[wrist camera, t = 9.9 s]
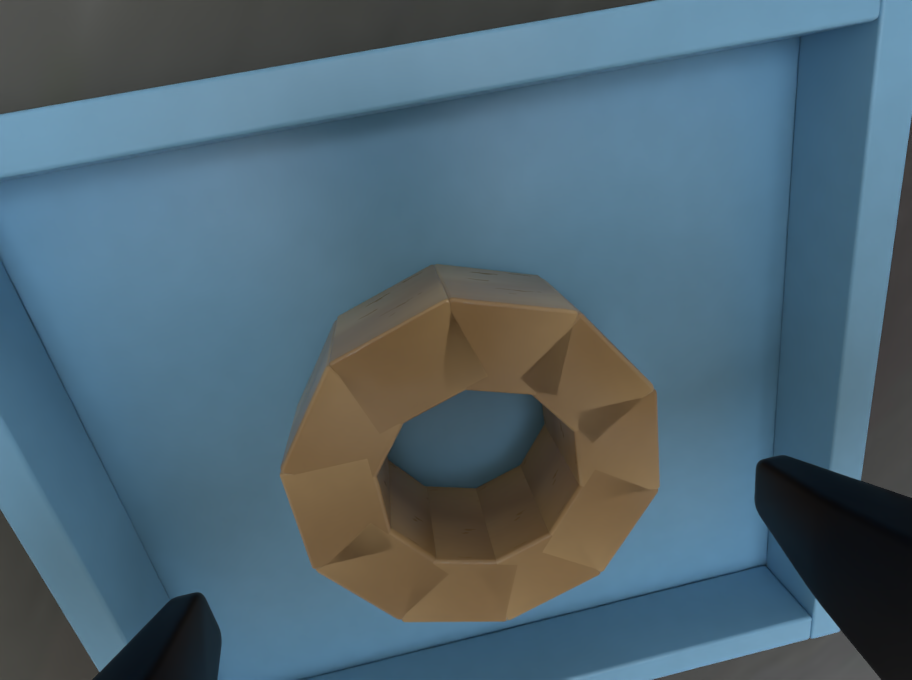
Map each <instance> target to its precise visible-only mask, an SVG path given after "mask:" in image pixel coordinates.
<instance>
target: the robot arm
mask: <svg viewBox="0 0 912 680" xmlns="http://www.w3.org/2000/svg"><path fill="white" fill-rule="evenodd" d="M754 502H755V507H756V510H757V512H758V514H759V516H760V517H761V519H762V520H763V522H764V523H765V525H766V526H767V528H768V529H769V531H770V532H771V534H772V535H773V537H774V538H775V540H776V541H777V543H778V544H779V546H780V547H781V548H782V550H783V551H784V553H785V554H786V556H787V557H788V559H789V560H790V562H791V563H792V565H793V566H794V568H795V569H796V571H797V572H798V574H799V575H800V577H801V578H802V580H803V581H804V583H805V584H806V586H807V587H808V588H809V590H810V591H811V593H812V594H813V595H814V597H815V598H816V600H817V601H818V602H819V603H820V605H821V606H822V607H823V609H824V610H825V611H826V612H827V614H828V615H829V616H830V617H831V619H832V620H833V621H834V622H835V623H836V625H837V626H838V627H839V628H840V630H841V631H842V632H843V633H844V634H845V636H846V637H847V638H848V639H849V641H850V642H851V643H852V644H853V645H854V647H855V648H856V649H857V650H858V652H859V653H860V654H861V655H862V656H863V658H864V659H865V660H866V661H867V663H868V664H869V665H870V666H871V667H872V669H873V670H874V671H875V672H876V674H877V675H878V676H879V677H880V678H881V680H912V498H910V497H907V496H904V495H901V494H898V493H895V492H892V491H889V490H886V489H883V488H880V487H878V486H875V485H872V484H869V483H866V482H863V481H860V480H857V479H854V478H851V477H848V476H845V475H842V474H839V473H836V472H833V471H831V470H828V469H825V468H822V467H819V466H816V465H813V464H810V463H807V462H804V461H801V460H798V459H795V458H792V457H789V456H786V455H778V456H774V457H769V458H765V459H762V460H760V461H759V462H758V463H757V465H756V474H755V494H754ZM221 646H222V637H221V631H220V628H219V626H218V623H217V621H216V619H215V617H214V615H213V613H212V611H211V608H210V606H209V604H208V602H207V600H206V598H205V596H204V595H203V594H202V593H200V592H194V593H190V594H186V595H181V596H177V597H175V598H172V599H171V600H170V601H169V602H167V603H166V604H165V606H164V607H163V608H162V609H161V610H160V611H159V612H158V613H157V614H156V615H155V616H154V617H153V618H152V619H151V620H150V621H149V622H148V623H147V624H146V625H145V626H144V627H143V628H142V629H141V630H140V631H139V632H138V633H137V634H136V635H135V636H134V637H133V638H132V640H131V641H130V642H129V643H128V644H127V645H126V646H125V647H124V648H123V649H122V650H121V651H120V652H119V653H118V654H117V655H116V656H115V657H114V658H113V659H112V660H111V661H110V662H109V663H108V664H107V665H106V666H105V667H104V668H103V669H102V670H101V671H100V672H99V674H98V675H97V676H96V677H95V678H94V679H93V680H217V679H218V671H219V663H220V655H221Z"/></svg>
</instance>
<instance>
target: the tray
mask: <svg viewBox="0 0 912 680" xmlns="http://www.w3.org/2000/svg"><path fill="white" fill-rule="evenodd" d="M911 117H912V0H656V1H650V2H644V3H638V4H633V5H627V6H621V7H615V8H610V9H604V10H598V11H592V12H587V13H581V14H575V15H569V16H564V17H558V18H552V19H546V20H540V21H535V22H529V23H523V24H517V25H512V26H506V27H500V28H494V29H489V30H483V31H477V32H471V33H466V34H460V35H454V36H448V37H443V38H437V39H431V40H425V41H420V42H414V43H408V44H402V45H396V46H391V47H385V48H379V49H373V50H368V51H362V52H356V53H350V54H345V55H339V56H333V57H327V58H322V59H316V60H310V61H304V62H299V63H293V64H287V65H281V66H276V67H270V68H264V69H258V70H252V71H247V72H241V73H235V74H229V75H224V76H218V77H212V78H206V79H201V80H195V81H189V82H183V83H178V84H172V85H166V86H160V87H155V88H149V89H143V90H137V91H132V92H126V93H120V94H114V95H108V96H103V97H97V98H91V99H85V100H80V101H74V102H68V103H62V104H57V105H51V106H45V107H39V108H34V109H28V110H22V111H16V112H11V113H5V114H0V509H1V511H2V513H3V514H4V516H5V518H6V519H7V521H8V522H9V524H10V526H11V527H12V529H13V531H14V532H15V534H16V536H17V537H18V539H19V541H20V542H21V544H22V546H23V547H24V549H25V550H26V552H27V554H28V555H29V557H30V559H31V560H32V562H33V564H34V565H35V567H36V569H37V570H38V572H39V574H40V575H41V577H42V578H43V580H44V582H45V583H46V585H47V587H48V588H49V590H50V592H51V593H52V595H53V597H54V598H55V600H56V602H57V603H58V605H59V606H60V608H61V610H62V611H63V613H64V615H65V616H66V618H67V620H68V621H69V623H70V625H71V626H72V628H73V630H74V631H75V633H76V634H77V636H78V638H79V639H80V641H81V643H82V644H83V646H84V648H85V649H86V651H87V653H88V654H89V656H90V658H91V659H92V661H93V662H94V664H95V666H96V667H97V669H98V671H99V672H100V671H101V670H102V669H103V668H104V667H105V666H106V665H107V664H108V663H109V662H110V661H111V660H112V659H113V658H114V657H115V656H116V655H117V654H118V653H119V652H120V651H121V650H122V649H123V648H124V647H125V646H126V645H127V644H128V643H129V642H130V641H131V640H132V638H133V637H134V636H135V635H136V634H137V633H138V632H139V631H140V630H141V629H142V628H143V627H144V626H145V625H146V624H147V623H148V622H149V621H150V620H151V619H152V618H153V617H154V616H155V615H156V614H157V613H158V612H159V611H160V610H161V609H162V608H163V607H164V606H165V604H166V603H167V602H169V601H170V600H171V599H172V598H175V597H177V596H181V595H186V594H190V593H194V592H200V593H202V594H203V595H204V596H205V598H206V600H207V602H208V604H209V606H210V608H211V611H212V613H213V615H214V617H215V619H216V621H217V623H218V626H219V628H220V631H221V637H222V646H221V655H220V663H219V671H218V679H217V680H652V679H656V678H660V677H664V676H667V675H671V674H675V673H679V672H683V671H687V670H691V669H695V668H698V667H702V666H706V665H710V664H714V663H718V662H722V661H726V660H729V659H733V658H737V657H741V656H745V655H749V654H753V653H757V652H760V651H764V650H768V649H772V648H776V647H780V646H784V645H788V644H791V643H795V642H799V641H803V640H807V639H808V638H809V637H810V638H812V639H813V638H817V637H821V636H825V635H829V634H832V633H836V632H839V631H840V628H839V627H838V626H837V625H836V623H835V622H834V621H833V620H832V619H831V617H830V616H829V615H828V614H827V612H826V611H825V610H824V609H823V607H822V606H821V605H820V603H819V602H818V601H817V600H816V598H815V597H814V595H813V594H812V593H811V591H810V590H809V588H808V587H807V586H806V584H805V583H804V581H803V580H802V578H801V577H800V575H799V574H798V572H797V571H796V569H795V568H794V566H793V565H792V563H791V562H790V560H789V559H788V557H787V556H786V554H785V553H784V551H783V550H782V548H781V547H780V546H779V544H778V543H777V541H776V540H775V538H774V537H773V535H772V534H771V532H770V531H769V529H768V528H767V526H766V525H765V523H764V522H763V520H762V519H761V517H760V516H759V514H758V512H757V510H756V507H755V502H754V494H755V474H756V465H757V463H758V462H759V461H760V460H762V459H765V458H769V457H774V456H778V455H786V456H789V457H792V458H795V459H798V460H801V461H804V462H807V463H810V464H813V465H816V466H819V467H822V468H825V469H828V470H831V471H833V472H836V473H839V474H842V475H845V476H848V477H851V478H854V479H857V480H860V481H861V475H862V468H863V461H864V454H865V446H866V439H867V432H868V425H869V418H870V411H871V403H872V396H873V389H874V382H875V375H876V368H877V360H878V353H879V346H880V339H881V332H882V325H883V317H884V310H885V303H886V296H887V289H888V282H889V274H890V267H891V260H892V253H893V246H894V239H895V231H896V224H897V217H898V210H899V203H900V196H901V188H902V181H903V174H904V167H905V160H906V153H907V145H908V138H909V131H910V124H911ZM435 264H443V265H451V266H460V267H469V268H478V269H487V270H496V271H505V272H514V273H522V274H531V275H538V276H540V277H541V278H542V279H545V280H546V281H547V282H548V283H549V284H550V285H551V286H553V287H554V288H555V289H556V290H557V291H558V292H559V293H560V294H561V295H563V296H564V297H565V298H566V299H567V300H568V301H569V302H570V303H571V304H573V305H574V306H575V307H576V308H577V309H578V310H579V311H580V312H581V313H583V314H584V315H585V316H586V317H587V318H588V319H589V320H590V321H591V322H592V323H593V324H594V325H595V326H596V328H597V329H598V330H599V331H600V332H601V333H602V334H603V335H604V336H605V337H606V338H607V339H608V340H609V341H610V342H611V343H612V344H613V345H614V346H615V347H616V348H617V349H618V350H619V351H620V352H621V353H622V354H623V355H624V356H625V357H626V358H627V359H628V360H629V361H630V362H631V363H632V364H633V365H634V366H635V367H636V368H637V369H638V370H639V371H640V372H641V373H642V374H643V375H644V376H645V377H646V378H647V379H648V380H649V381H650V382H651V383H652V384H653V387H654V389H655V390H656V392H657V410H658V442H659V475H660V487H659V488H658V493H657V494H656V496H655V497H654V499H653V500H652V502H651V503H650V504H649V506H648V507H647V509H646V510H645V512H644V513H643V515H642V516H641V518H640V519H639V520H638V522H637V523H636V525H635V526H634V528H633V529H632V531H631V532H630V534H629V535H628V536H627V538H626V539H625V541H624V542H623V544H622V545H621V547H620V548H619V550H618V551H617V552H616V554H615V555H614V557H613V558H612V560H611V561H610V563H609V564H608V565H607V567H606V568H605V570H604V571H603V572H600V575H598V576H596V577H594V578H592V579H590V580H588V581H586V582H584V583H582V584H580V585H579V586H577V587H575V588H573V589H571V590H569V591H567V592H565V593H563V594H561V595H559V596H557V597H555V598H553V599H551V600H549V601H547V602H545V603H543V604H541V605H539V606H537V607H535V608H533V609H531V610H529V611H527V612H525V613H523V614H521V615H519V616H517V617H515V618H514V619H512V620H506V621H505V622H403V621H402V620H398V619H396V618H394V617H393V616H391V615H389V614H387V613H386V612H384V611H382V610H381V609H379V608H377V607H376V606H374V605H372V604H371V603H369V602H367V601H365V600H364V599H362V598H360V597H359V596H357V595H355V594H354V593H352V592H350V591H348V590H347V589H345V588H343V587H342V586H340V585H338V584H337V583H335V582H333V581H332V580H330V579H328V578H326V577H325V576H323V575H321V574H320V573H318V572H317V571H316V569H313V568H312V566H311V563H310V560H309V557H308V555H307V552H306V549H305V546H304V543H303V540H302V538H301V535H300V532H299V529H298V526H297V523H296V521H295V518H294V515H293V512H292V509H291V506H290V504H289V501H288V498H287V495H286V492H285V489H284V487H283V484H282V481H281V478H280V471H281V469H280V467H281V463H282V460H283V456H284V452H285V449H286V445H287V441H288V438H289V434H290V431H291V427H292V423H293V420H294V416H295V412H296V409H297V405H298V403H299V401H300V399H301V396H302V394H303V392H304V389H305V387H306V385H307V383H308V380H309V378H310V376H311V374H312V371H313V369H314V367H315V364H316V362H317V360H318V358H319V355H320V353H321V351H322V348H323V346H324V344H325V342H326V339H327V337H328V335H329V333H330V330H331V328H332V326H333V323H334V322H335V321H336V320H337V317H338V316H339V315H341V314H343V313H345V312H346V311H348V310H350V309H352V308H354V307H355V306H357V305H359V304H361V303H363V302H365V301H366V300H368V299H370V298H372V297H374V296H375V295H377V294H379V293H381V292H383V291H384V290H386V289H388V288H390V287H392V286H393V285H395V284H397V283H399V282H401V281H402V280H404V279H406V278H408V277H410V276H412V275H413V274H415V273H417V272H419V271H421V270H422V269H424V268H426V267H428V266H430V265H435ZM543 426H544V416H543V408H542V404H541V403H540V402H539V401H538V400H537V399H536V398H535V397H533V396H532V395H529V394H515V393H501V392H487V391H473V390H465V391H463V392H461V393H459V394H457V395H455V396H453V397H451V398H450V399H448V400H446V401H444V402H442V403H440V404H438V405H437V406H435V407H433V408H431V409H429V410H427V411H425V412H424V413H422V414H420V415H418V416H416V417H414V418H412V419H411V420H409V421H407V422H405V423H404V424H403V426H402V428H401V430H400V432H399V434H398V436H397V438H396V440H395V441H394V443H393V445H392V447H391V449H390V451H389V453H388V455H387V456H388V460H389V461H391V462H392V463H394V464H395V465H396V466H398V467H399V468H400V469H402V470H403V471H405V472H406V473H407V474H409V475H410V476H412V477H413V478H414V479H416V480H417V481H419V482H420V483H421V484H423V485H424V486H433V487H459V488H477V487H479V486H481V485H483V484H485V483H487V482H489V481H490V480H492V479H494V478H496V477H498V476H500V475H502V474H504V473H506V472H508V471H509V470H511V469H513V468H515V467H517V466H519V465H521V463H522V461H523V459H524V458H525V456H526V454H527V453H528V451H529V449H530V448H531V446H532V444H533V443H534V441H535V439H536V438H537V436H538V434H539V432H540V431H541V429H542V427H543Z"/></svg>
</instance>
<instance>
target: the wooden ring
mask: <svg viewBox="0 0 912 680" xmlns="http://www.w3.org/2000/svg"><path fill="white" fill-rule="evenodd" d="M465 390H473V391H487V392H501V393H515V394H529V395H532V396H533V397H535V398H536V399H537V400H538V401H539V402H540V403H541V404H542V408H543V416H544V426H543V427H542V429H541V431H540V432H539V434H538V436H537V438H536V439H535V441H534V443H533V444H532V446H531V448H530V449H529V451H528V453H527V454H526V456H525V458H524V459H523V461H522V463H521V465H519V466H517V467H515V468H513V469H511V470H509V471H508V472H506V473H504V474H502V475H500V476H498V477H496V478H494V479H492V480H490V481H489V482H487V483H485V484H483V485H481V486H479V487H477V488H459V487H433V486H424V485H423V484H421V483H420V482H419V481H417V480H416V479H414V478H413V477H412V476H410V475H409V474H407V473H406V472H405V471H403V470H402V469H400V468H399V467H398V466H396V465H395V464H394V463H392V462H391V461H389V460H388V456H387V455H388V453H389V451H390V449H391V447H392V445H393V443H394V441H395V440H396V438H397V436H398V434H399V432H400V430H401V428H402V426H403V424H404V423H405V422H407V421H409V420H411V419H412V418H414V417H416V416H418V415H420V414H422V413H424V412H425V411H427V410H429V409H431V408H433V407H435V406H437V405H438V404H440V403H442V402H444V401H446V400H448V399H450V398H451V397H453V396H455V395H457V394H459V393H461V392H463V391H465ZM280 469H281V471H280V478H281V481H282V484H283V487H284V489H285V492H286V495H287V498H288V501H289V504H290V506H291V509H292V512H293V515H294V518H295V521H296V523H297V526H298V529H299V532H300V535H301V538H302V540H303V543H304V546H305V549H306V552H307V555H308V557H309V560H310V563H311V566H312V568H313V569H316V571H317V572H318V573H320V574H321V575H323V576H325V577H326V578H328V579H330V580H332V581H333V582H335V583H337V584H338V585H340V586H342V587H343V588H345V589H347V590H348V591H350V592H352V593H354V594H355V595H357V596H359V597H360V598H362V599H364V600H365V601H367V602H369V603H371V604H372V605H374V606H376V607H377V608H379V609H381V610H382V611H384V612H386V613H387V614H389V615H391V616H393V617H394V618H396V619H398V620H402V621H403V622H505V621H506V620H512V619H514V618H515V617H517V616H519V615H521V614H523V613H525V612H527V611H529V610H531V609H533V608H535V607H537V606H539V605H541V604H543V603H545V602H547V601H549V600H551V599H553V598H555V597H557V596H559V595H561V594H563V593H565V592H567V591H569V590H571V589H573V588H575V587H577V586H579V585H580V584H582V583H584V582H586V581H588V580H590V579H592V578H594V577H596V576H598V575H600V572H603V571H604V570H605V568H606V567H607V565H608V564H609V563H610V561H611V560H612V558H613V557H614V555H615V554H616V552H617V551H618V550H619V548H620V547H621V545H622V544H623V542H624V541H625V539H626V538H627V536H628V535H629V534H630V532H631V531H632V529H633V528H634V526H635V525H636V523H637V522H638V520H639V519H640V518H641V516H642V515H643V513H644V512H645V510H646V509H647V507H648V506H649V504H650V503H651V502H652V500H653V499H654V497H655V496H656V494H657V493H658V488H659V487H660V475H659V442H658V410H657V392H656V390H655V389H654V387H653V384H652V383H651V382H650V381H649V380H648V379H647V378H646V377H645V376H644V375H643V374H642V373H641V372H640V371H639V370H638V369H637V368H636V367H635V366H634V365H633V364H632V363H631V362H630V361H629V360H628V359H627V358H626V357H625V356H624V355H623V354H622V353H621V352H620V351H619V350H618V349H617V348H616V347H615V346H614V345H613V344H612V343H611V342H610V341H609V340H608V339H607V338H606V337H605V336H604V335H603V334H602V333H601V332H600V331H599V330H598V329H597V328H596V326H595V325H594V324H593V323H592V322H591V321H590V320H589V319H588V318H587V317H586V316H585V315H584V314H583V313H581V312H580V311H579V310H578V309H577V308H576V307H575V306H574V305H573V304H571V303H570V302H569V301H568V300H567V299H566V298H565V297H564V296H563V295H561V294H560V293H559V292H558V291H557V290H556V289H555V288H554V287H553V286H551V285H550V284H549V283H548V282H547V281H546V280H545V279H542V278H541V277H540V276H538V275H531V274H522V273H514V272H505V271H496V270H487V269H478V268H469V267H460V266H451V265H443V264H435V265H430V266H428V267H426V268H424V269H422V270H421V271H419V272H417V273H415V274H413V275H412V276H410V277H408V278H406V279H404V280H402V281H401V282H399V283H397V284H395V285H393V286H392V287H390V288H388V289H386V290H384V291H383V292H381V293H379V294H377V295H375V296H374V297H372V298H370V299H368V300H366V301H365V302H363V303H361V304H359V305H357V306H355V307H354V308H352V309H350V310H348V311H346V312H345V313H343V314H341V315H339V316H338V317H337V320H336V321H335V322H334V323H333V326H332V328H331V330H330V333H329V335H328V337H327V339H326V342H325V344H324V346H323V348H322V351H321V353H320V355H319V358H318V360H317V362H316V364H315V367H314V369H313V371H312V374H311V376H310V378H309V380H308V383H307V385H306V387H305V389H304V392H303V394H302V396H301V399H300V401H299V403H298V405H297V409H296V412H295V416H294V420H293V423H292V427H291V431H290V434H289V438H288V441H287V445H286V449H285V452H284V456H283V460H282V463H281V467H280Z"/></svg>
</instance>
